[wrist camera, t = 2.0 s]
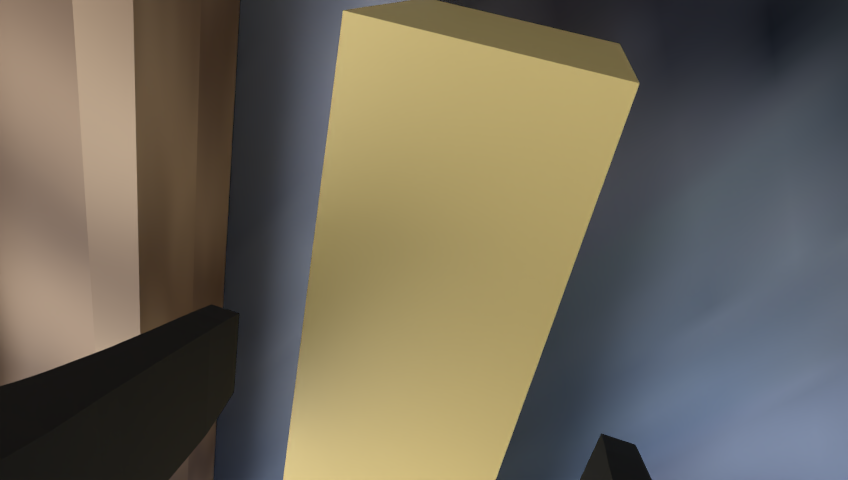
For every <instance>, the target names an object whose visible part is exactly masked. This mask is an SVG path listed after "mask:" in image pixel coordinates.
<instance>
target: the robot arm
mask: <svg viewBox="0 0 848 480" xmlns="http://www.w3.org/2000/svg"><path fill="white" fill-rule="evenodd" d="M238 326H239V313H236V312H233V311H230V310H227V309H224V308H221V307H218V306H215V305H212V304H211V305H208V306H206V307H203V308H201V309H198V310H196V311H193V312H191V313H189V314H186V315H184V316H182V317H179V318H177V319H175V320H173V321H170V322H168V323H166V324H163V325H161V326H159V327H157V328H154V329H152V330H150V331H147V332H145V333H142V334H140V335H138V336H135V337H133V338H131V339H128V340H126V341H123V342H121V343H119V344H116V345H114V346H112V347H109V348H107V349H104V350H102V351H99V352H96V353H94V354H91V355H88V356H86V357H83V358H80V359H78V360H75V361H72V362H70V363H67V364H64V365H62V366H59V367H56V368H54V369H51V370H49V371H46V372H43V373H40V374H37V375H34V376H31V377H28V378H25V379H22V380H19V381H16V382H12V383H9V384H6V385H2V386H0V480H169V479H170V478H171V477H172V476H173V474H174V473H175V472H176V471H177V470H178V468H179V467H180V466H181V465H182V464H183V462H184V461H185V460H186V459H187V458H188V456H189V455H190V454H191V453H192V452H193V450H194V449H195V448H196V447H197V446H198V444H199V443H200V442H201V441H202V440H203V438H204V437H205V436H206V434H207V433H208V431H209V430H210V429H211V427H212V426H213V424H214V423H215V421H216V420H217V418H218V417H219V415H220V413H221V412H222V410H223V409H224V407H225V405H226V404H227V402H228V401H229V399H230V398H231V396H232V394H233V393H234V384H235V369H236V355H237V340H238ZM580 480H652V479H651V477H650V475H649V473H648V471H647V468H646V466H645V464H644V462H643V460H642V458H641V455H640V453H639V451H638V449H637V447H636V446H635V445H634V444H631V443H628V442H625V441H622V440H619V439H616V438H613V437H610V436H607V435H604V434H601V436H600V438H599V440H598V442H597V444H596V446H595V448H594V451H593V453H592V455H591V457H590V459H589V461H588V463H587V466H586V468H585V470H584V472H583V474H582V476H581V478H580Z"/></svg>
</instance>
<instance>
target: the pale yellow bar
mask: <svg viewBox="0 0 848 480" xmlns="http://www.w3.org/2000/svg"><path fill="white" fill-rule="evenodd" d="M639 84H640V83H639V81H638V79H637V77H636V75H635V73H634V71H633V69H632V67H631V65H630V63H629V61H628V59H627V57H626V55H625V53H624V51H623V49H622V47H621V45H620V44H619V43H614V42H610V41H606V40H602V39H598V38H593V37H589V36H585V35H581V34H577V33H572V32H568V31H564V30H560V29H556V28H551V27H547V26H543V25H539V24H535V23H530V22H526V21H522V20H518V19H514V18H509V17H505V16H501V15H497V14H492V13H488V12H484V11H480V10H476V9H471V8H467V7H463V6H459V5H455V4H450V3H446V2H442V1H438V0H410V1H404V2H397V3H390V4H383V5H376V6H370V7H363V8H356V9H349V10H343V15H342V23H341V31H340V39H339V46H338V54H337V62H336V70H335V78H334V86H333V93H332V101H331V109H330V117H329V125H328V133H327V140H326V148H325V156H324V164H323V172H322V180H321V187H320V195H319V203H318V211H317V219H316V227H315V234H314V242H313V250H312V258H311V266H310V274H309V281H308V289H307V297H306V305H305V313H304V321H303V328H302V336H301V344H300V352H299V360H298V367H297V375H296V383H295V391H294V399H293V407H292V414H291V422H290V430H289V438H288V446H287V454H286V461H285V469H284V477H283V480H496V478H497V475H498V472H499V469H500V467H501V464H502V461H503V458H504V456H505V453H506V450H507V447H508V445H509V442H510V439H511V436H512V434H513V431H514V428H515V425H516V423H517V420H518V417H519V414H520V412H521V409H522V406H523V403H524V401H525V398H526V395H527V392H528V390H529V387H530V384H531V381H532V379H533V376H534V373H535V370H536V368H537V365H538V362H539V359H540V357H541V354H542V351H543V348H544V346H545V343H546V340H547V337H548V334H549V332H550V329H551V326H552V323H553V321H554V318H555V315H556V312H557V310H558V307H559V304H560V301H561V299H562V296H563V293H564V290H565V288H566V285H567V282H568V279H569V277H570V274H571V271H572V268H573V266H574V263H575V260H576V257H577V255H578V252H579V249H580V246H581V244H582V241H583V238H584V235H585V233H586V230H587V227H588V224H589V222H590V219H591V216H592V213H593V211H594V208H595V205H596V202H597V199H598V197H599V194H600V191H601V188H602V186H603V183H604V180H605V177H606V175H607V172H608V169H609V166H610V164H611V161H612V158H613V155H614V153H615V150H616V147H617V144H618V142H619V139H620V136H621V133H622V131H623V128H624V125H625V122H626V120H627V117H628V114H629V111H630V109H631V106H632V103H633V100H634V98H635V95H636V92H637V89H638V87H639Z"/></svg>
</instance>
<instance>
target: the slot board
mask: <svg viewBox="0 0 848 480" xmlns="http://www.w3.org/2000/svg"><path fill="white" fill-rule="evenodd" d="M239 10H240V0H0V386H2V385H6V384H9V383H12V382H16V381H19V380H22V379H25V378H28V377H31V376H34V375H37V374H40V373H43V372H46V371H49V370H51V369H54V368H56V367H59V366H62V365H64V364H67V363H70V362H72V361H75V360H78V359H80V358H83V357H86V356H88V355H91V354H94V353H96V352H99V351H102V350H104V349H107V348H109V347H112V346H114V345H116V344H119V343H121V342H123V341H126V340H128V339H131V338H133V337H135V336H138V335H140V334H142V333H145V332H147V331H150V330H152V329H154V328H157V327H159V326H161V325H163V324H166V323H168V322H170V321H173V320H175V319H177V318H179V317H182V316H184V315H186V314H189V313H191V312H193V311H196V310H198V309H201V308H203V307H206V306H208V305H211V304H212V305H215V306H218V307H221V308H223V296H224V278H225V260H226V243H227V225H228V207H229V189H230V171H231V153H232V135H233V117H234V99H235V81H236V64H237V46H238V28H239ZM216 421H217V420H216ZM216 421H215V423H214V424H213V426H212V427H211V429H210V430H209V431H208V433H207V434H206V436H205V437H204V438H203V440H202V441H201V442H200V443H199V444H198V446H197V447H196V448H195V449H194V450H193V452H192V453H191V454H190V455H189V456H188V458H187V459H186V460H185V461H184V462H183V464H182V465H181V466H180V467H179V468H178V470H177V471H176V472H175V473H174V474H173V476H172V477H171V478H170V479H169V480H213V475H214V457H215V439H216Z"/></svg>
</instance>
